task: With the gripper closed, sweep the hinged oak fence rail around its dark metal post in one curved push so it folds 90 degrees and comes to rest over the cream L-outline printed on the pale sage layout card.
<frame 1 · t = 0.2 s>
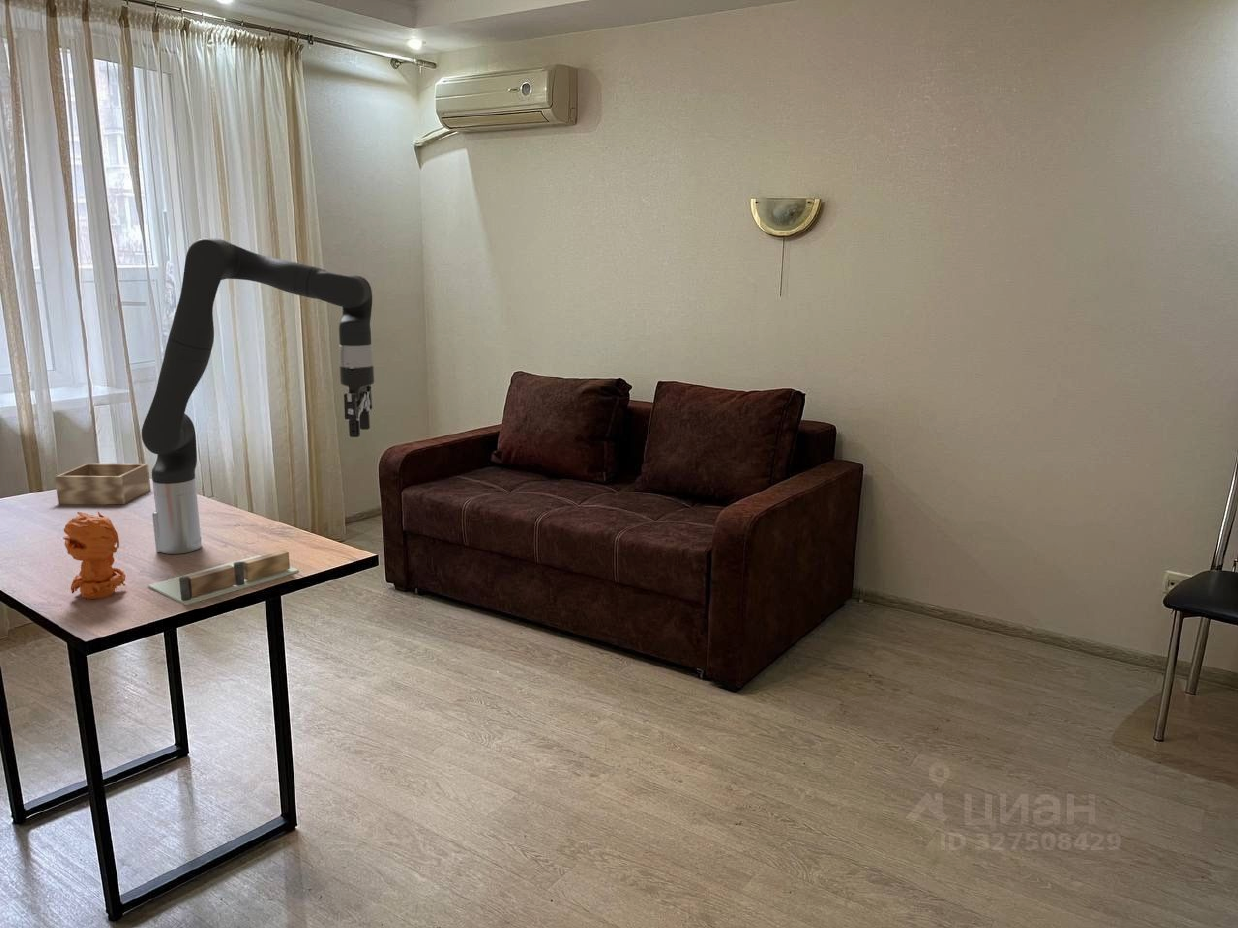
hand: (360, 432, 217), 29 cm above the table, fingers open, 8 cm apart
layout card: (225, 579, 203), on the table
toy dinosaur: (98, 594, 194), on the table
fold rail: (266, 565, 204), point 3 cm above the table, hinge at 0.0°
fence fixed: (240, 585, 199), resting on layout card
toy crate: (105, 496, 267), on the table
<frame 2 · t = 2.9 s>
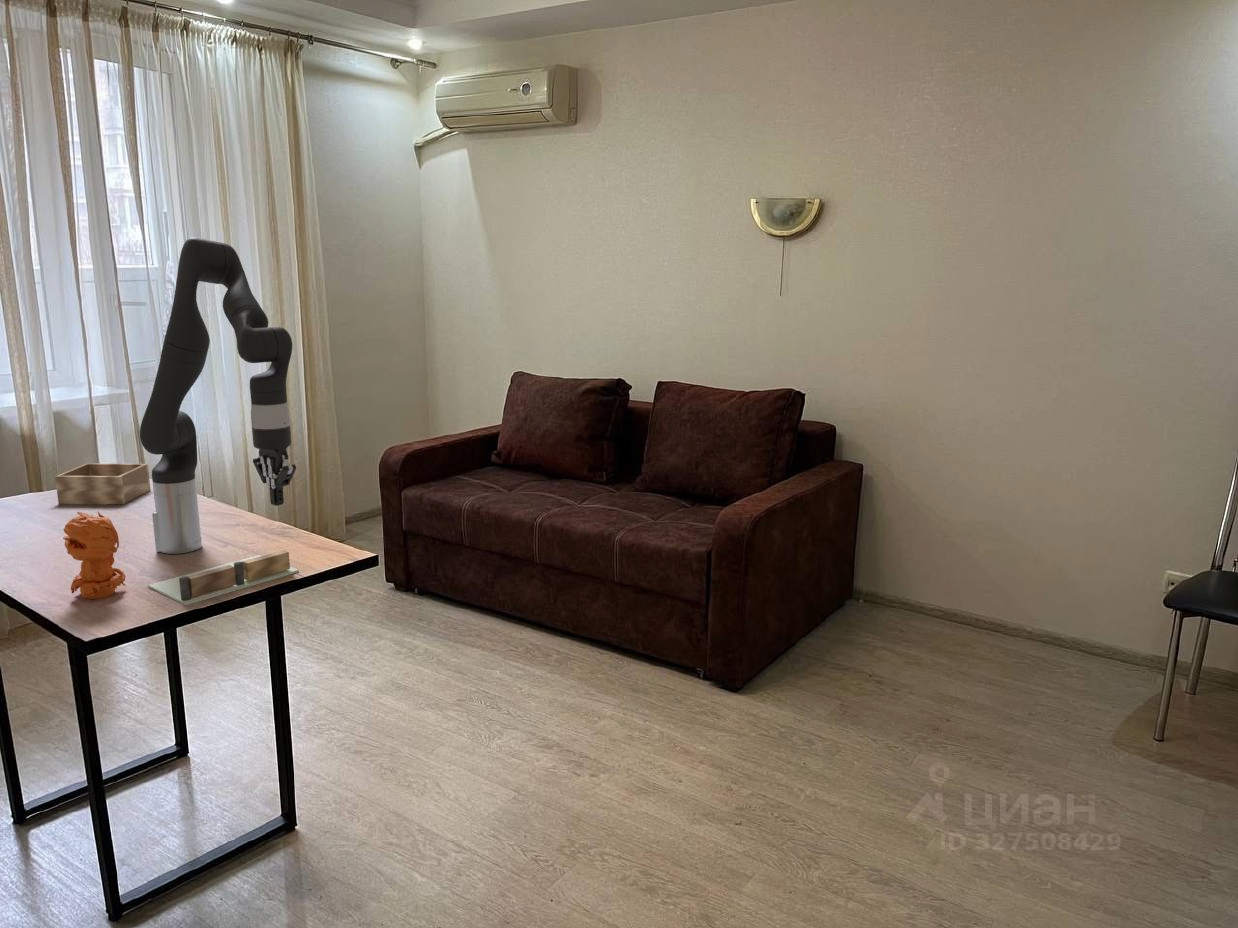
hand: (277, 504, 196), 18 cm above the table, fingers closed
nothing on the table moved.
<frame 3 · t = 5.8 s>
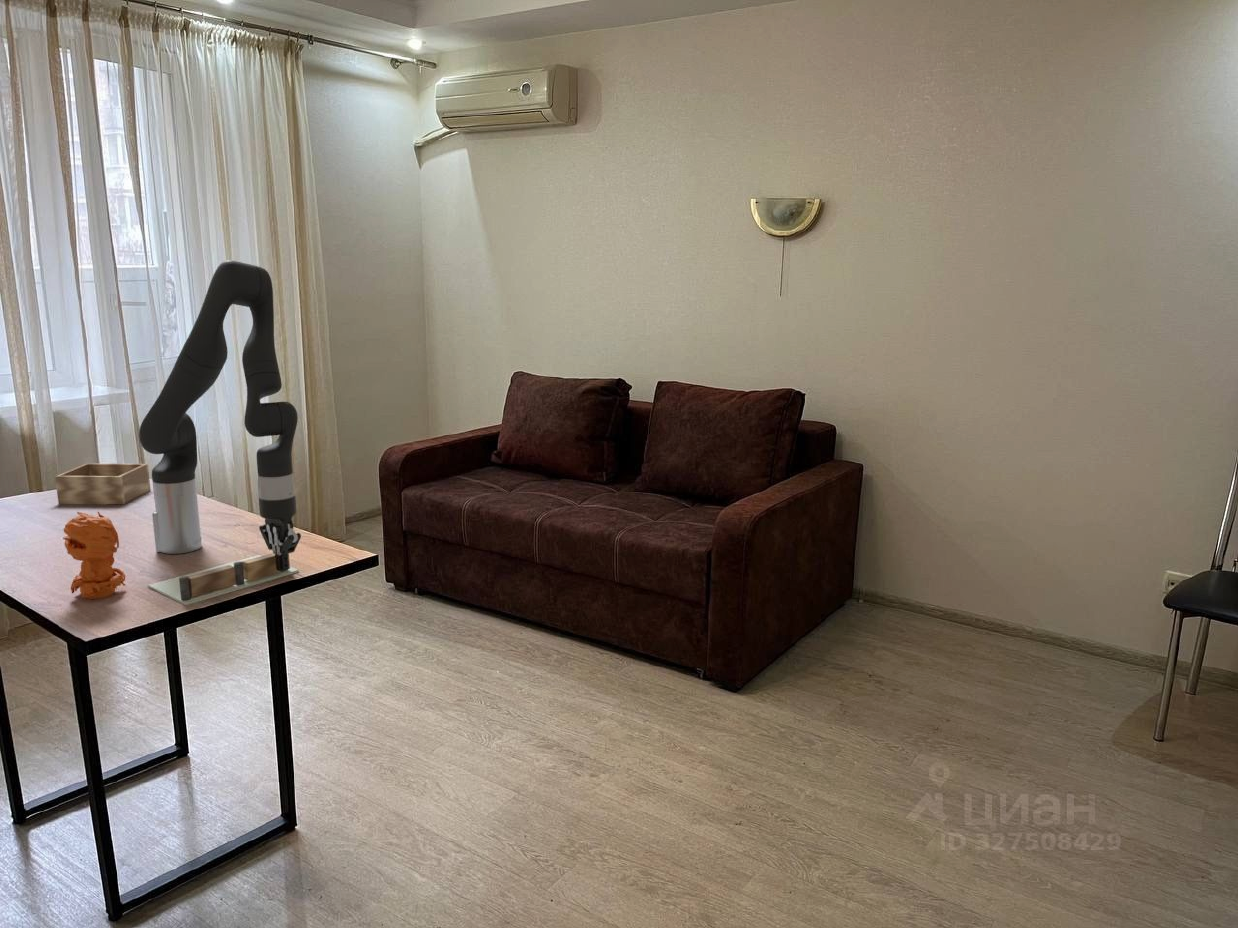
hand: (282, 570, 203), 2 cm above the table, fingers closed
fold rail: (266, 565, 204), point 3 cm above the table, hinge at 0.1°, touching gripper
everything else where it was.
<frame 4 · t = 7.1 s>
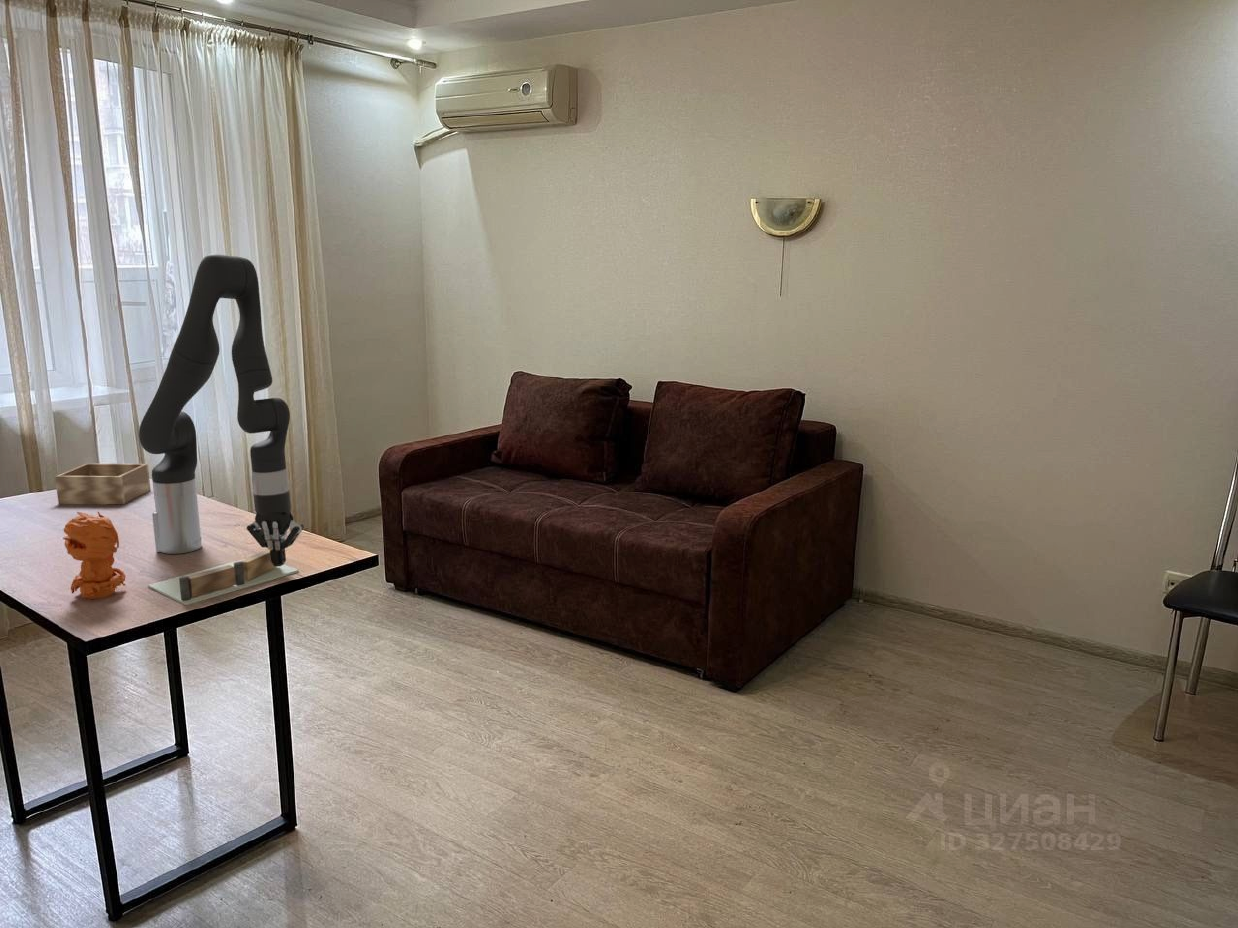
hand: (278, 565, 206), 2 cm above the table, fingers closed
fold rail: (259, 563, 205), point 3 cm above the table, hinge at 19.3°, touching gripper
everything else where it was.
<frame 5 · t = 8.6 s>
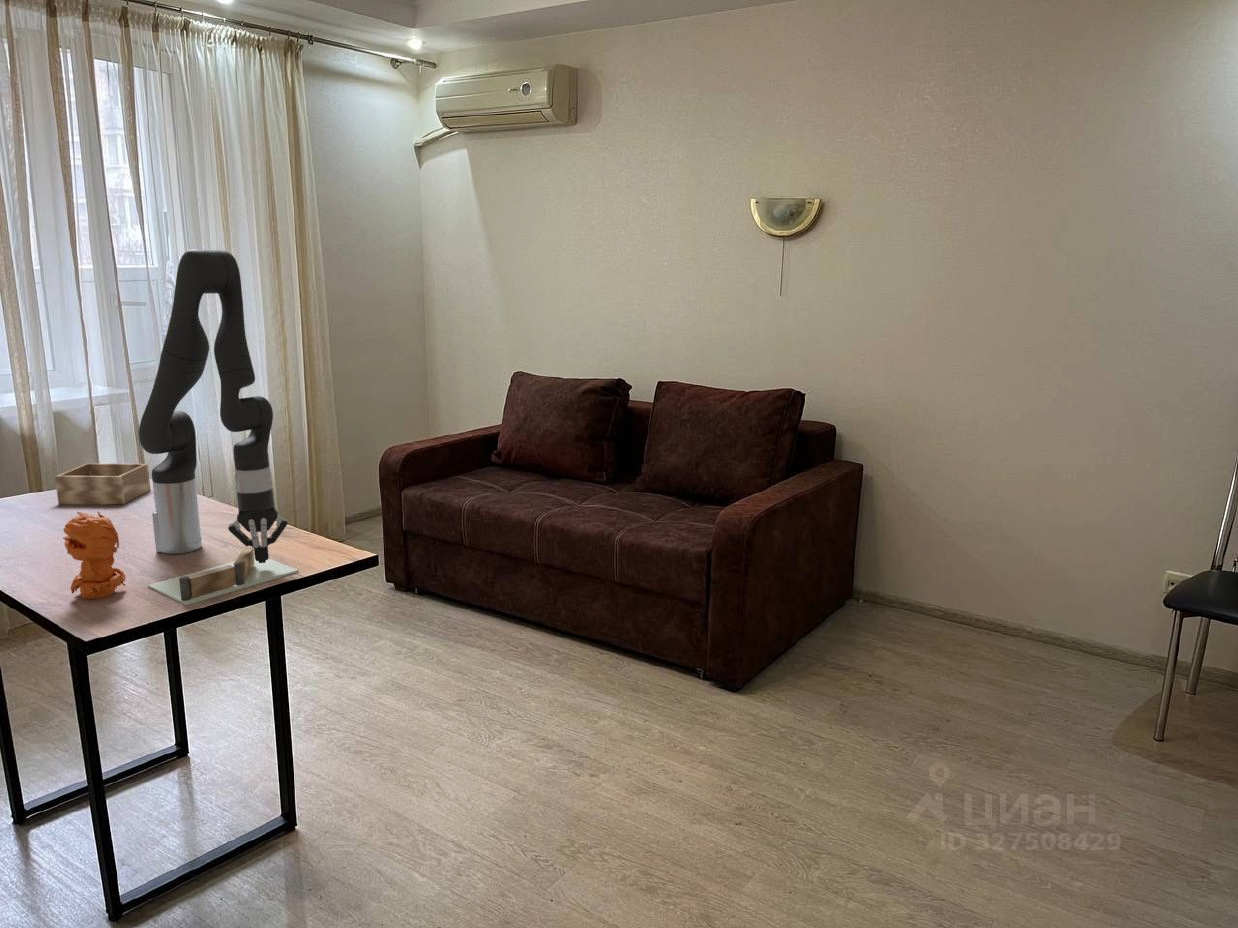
hand: (262, 562, 208), 2 cm above the table, fingers closed
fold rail: (244, 563, 205), point 3 cm above the table, hinge at 49.4°, touching gripper
everything else where it was.
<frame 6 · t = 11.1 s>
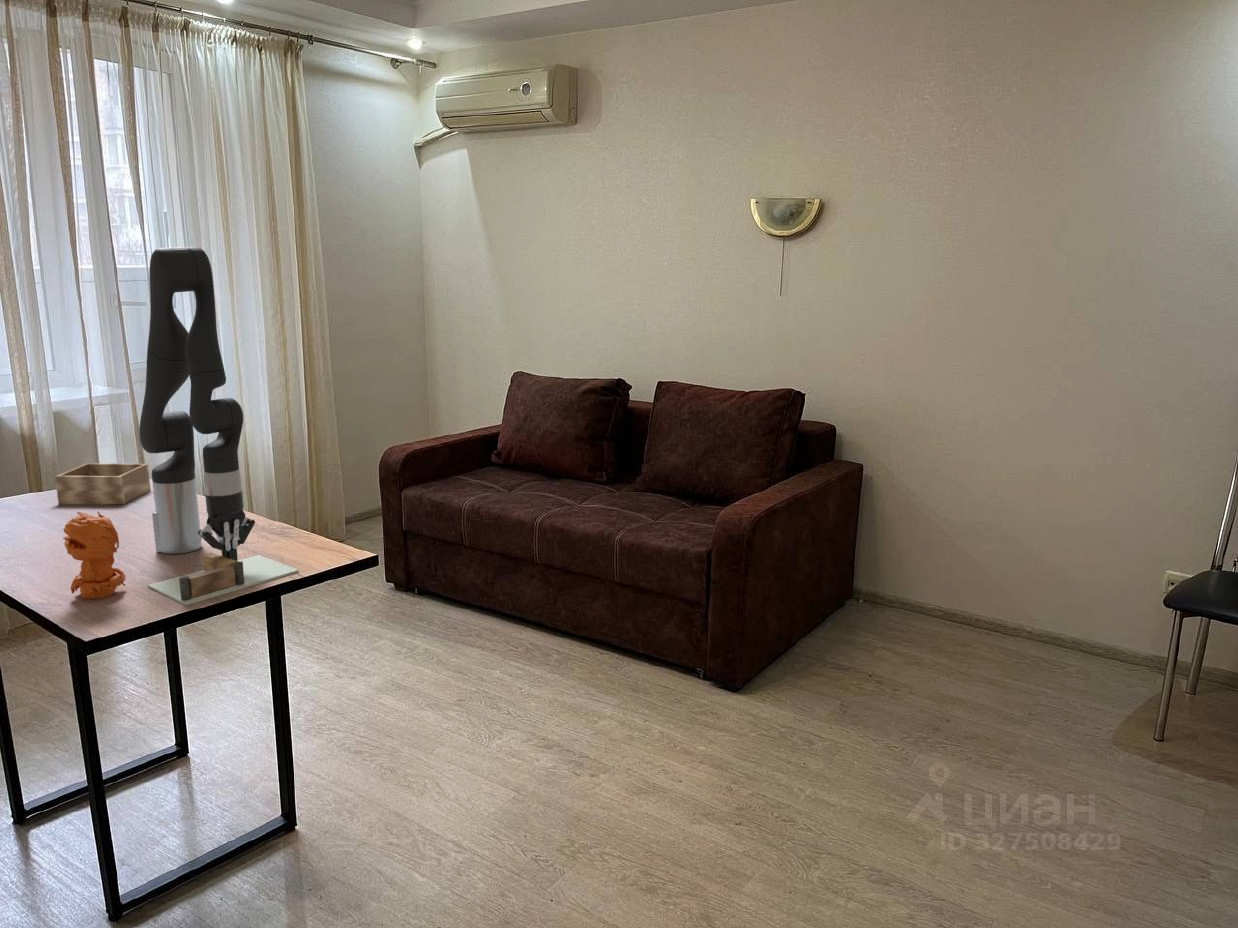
hand: (230, 564, 206), 2 cm above the table, fingers closed
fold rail: (221, 566, 202), point 3 cm above the table, hinge at 93.6°
everything else where it was.
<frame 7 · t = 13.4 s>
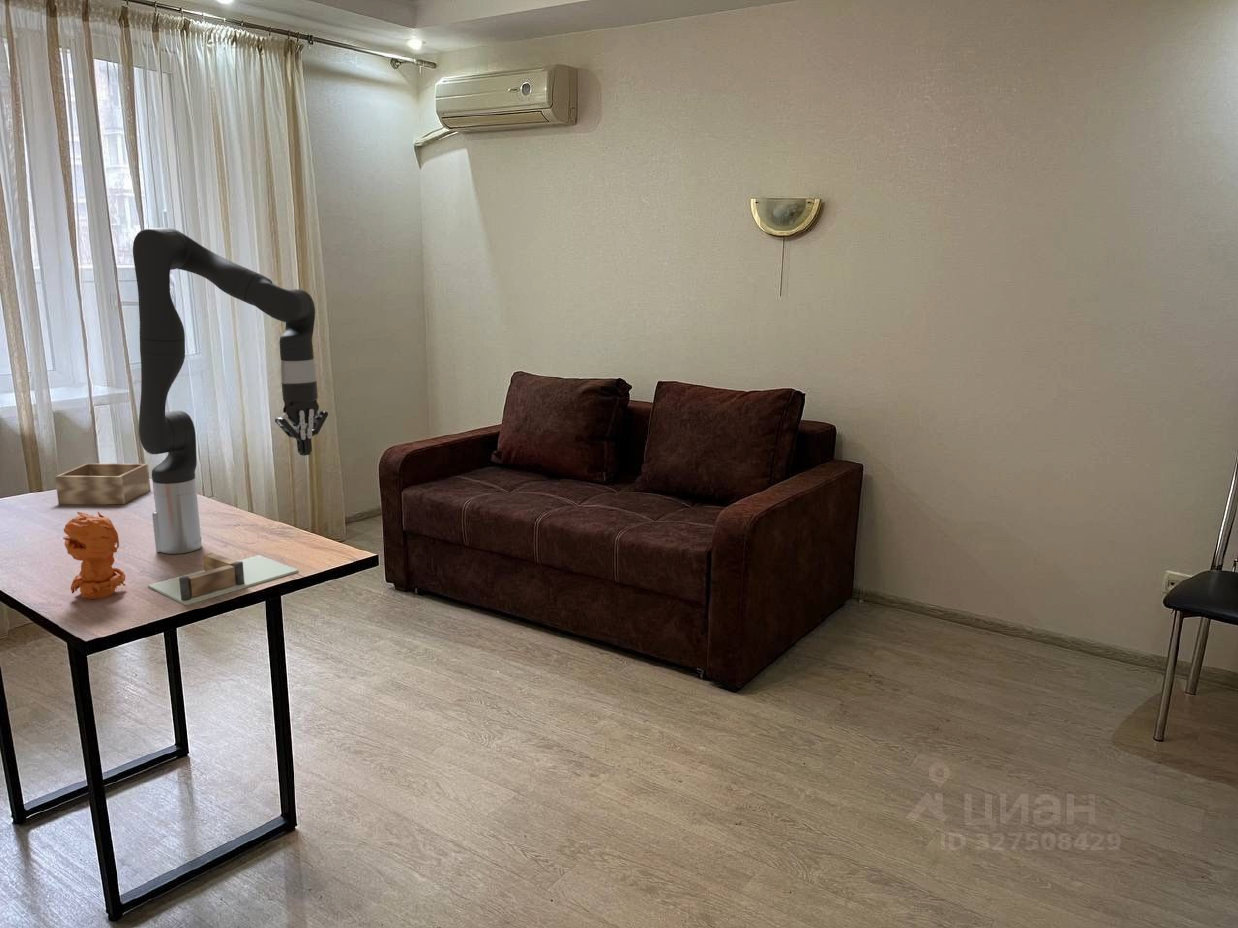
hand: (305, 454, 212), 25 cm above the table, fingers closed
nothing on the table moved.
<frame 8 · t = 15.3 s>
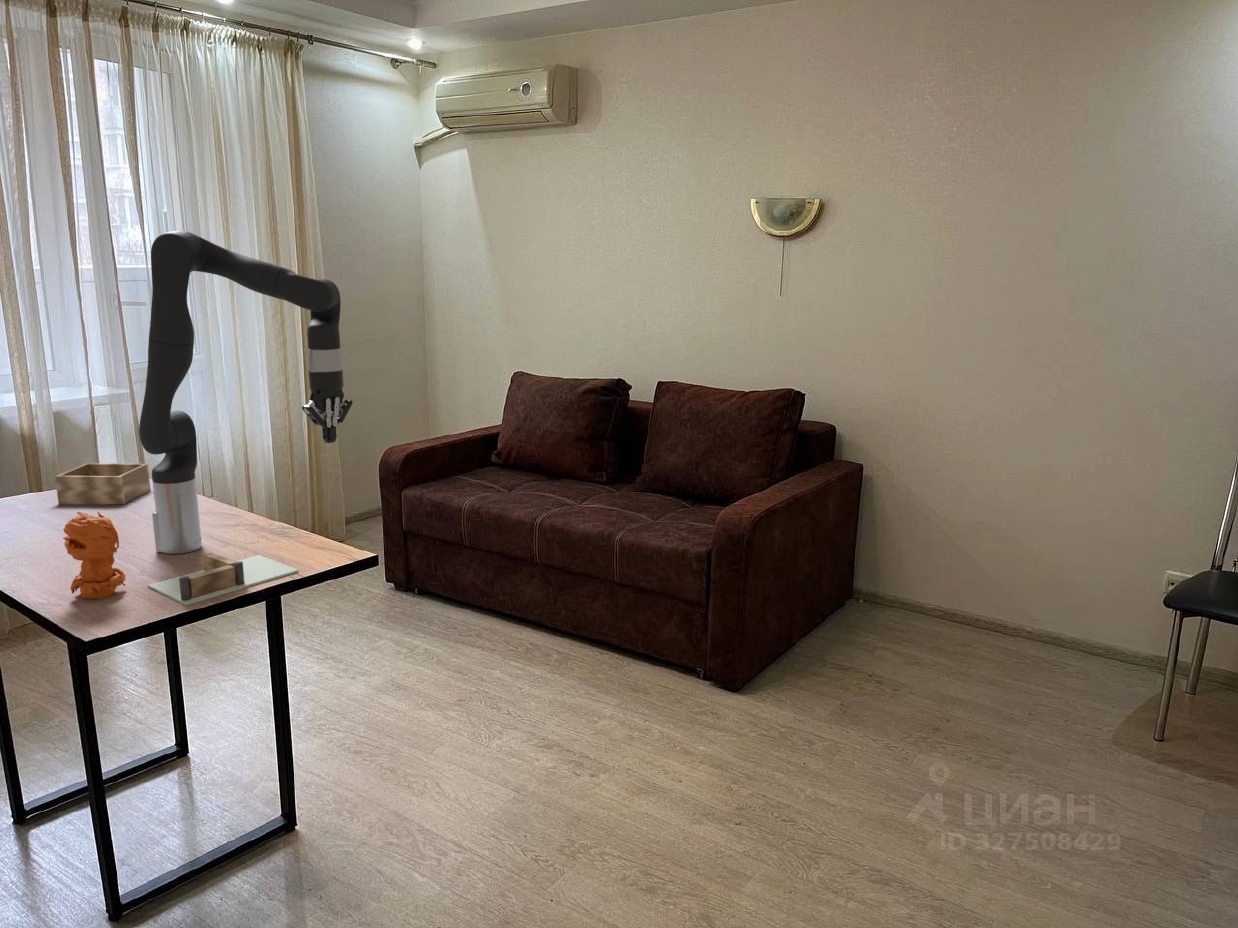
hand: (330, 442, 216), 27 cm above the table, fingers closed
nothing on the table moved.
at the end: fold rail at +94° (first picture: +0°); the gripper is holding nothing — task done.
